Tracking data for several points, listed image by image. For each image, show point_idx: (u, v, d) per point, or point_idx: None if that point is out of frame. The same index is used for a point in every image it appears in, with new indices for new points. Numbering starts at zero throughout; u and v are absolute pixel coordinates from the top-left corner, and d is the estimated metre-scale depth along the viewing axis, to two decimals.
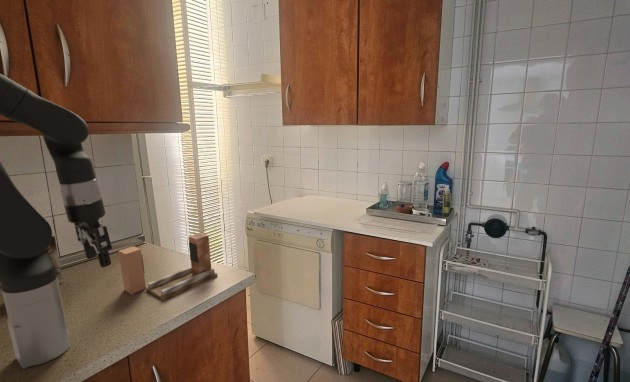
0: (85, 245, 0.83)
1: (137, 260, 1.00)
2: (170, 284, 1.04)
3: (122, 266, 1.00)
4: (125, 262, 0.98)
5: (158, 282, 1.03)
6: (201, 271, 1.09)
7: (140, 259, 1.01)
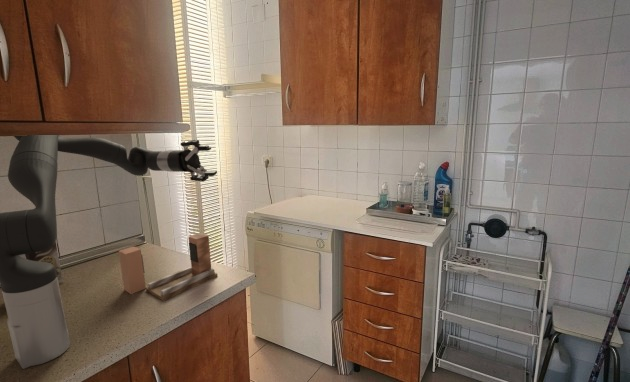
0: (205, 172, 1.13)
1: (137, 260, 1.00)
2: (170, 284, 1.04)
3: (122, 266, 1.00)
4: (125, 262, 0.98)
5: (158, 282, 1.03)
6: (201, 271, 1.09)
7: (140, 259, 1.01)
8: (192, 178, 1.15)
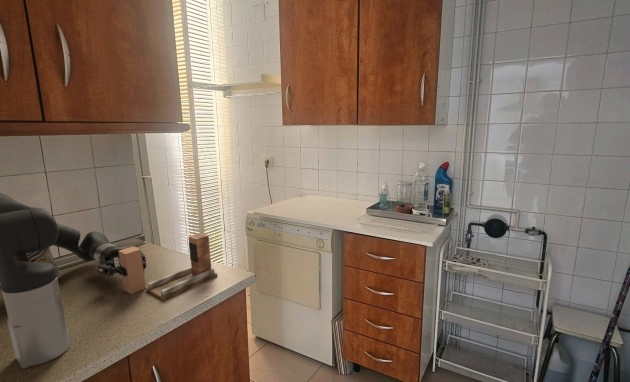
0: None
1: (137, 260, 1.00)
2: (170, 284, 1.04)
3: (122, 266, 1.00)
4: (125, 262, 0.98)
5: (158, 282, 1.03)
6: (201, 271, 1.09)
7: (140, 259, 1.01)
8: None
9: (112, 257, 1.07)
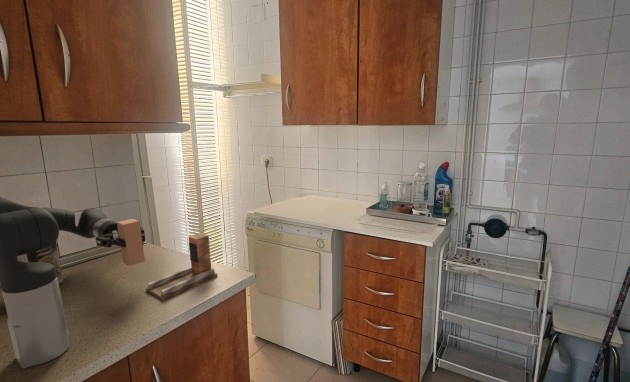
0: None
1: (136, 231, 0.99)
2: (170, 284, 1.04)
3: (121, 238, 0.99)
4: (123, 233, 0.97)
5: (158, 282, 1.03)
6: (201, 271, 1.09)
7: (139, 231, 1.00)
8: None
9: (111, 231, 1.05)
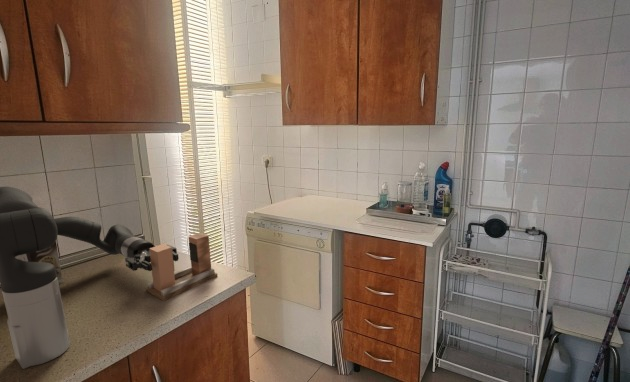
0: None
1: (168, 258, 0.99)
2: None
3: (153, 264, 0.99)
4: (157, 260, 0.97)
5: None
6: (201, 271, 1.09)
7: (171, 257, 1.00)
8: None
9: (140, 251, 1.05)
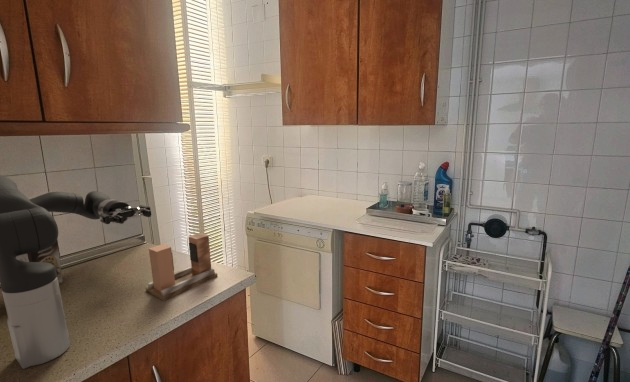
0: None
1: (168, 257, 0.99)
2: None
3: (153, 264, 0.99)
4: (156, 260, 0.97)
5: None
6: (201, 271, 1.09)
7: (170, 257, 1.00)
8: (141, 212, 1.16)
9: (115, 209, 1.11)
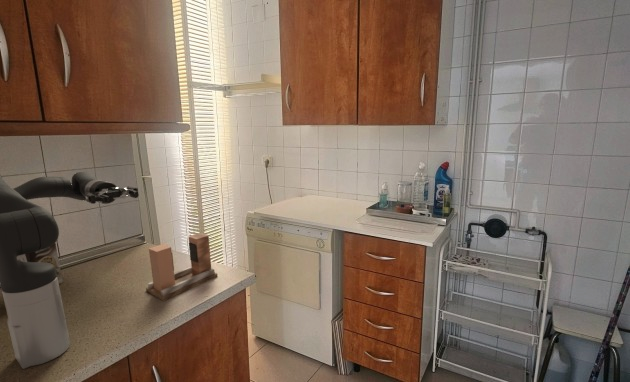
0: None
1: (168, 257, 0.99)
2: None
3: (153, 264, 0.99)
4: (156, 260, 0.97)
5: None
6: (201, 271, 1.09)
7: (170, 257, 1.00)
8: None
9: (102, 189, 1.09)
